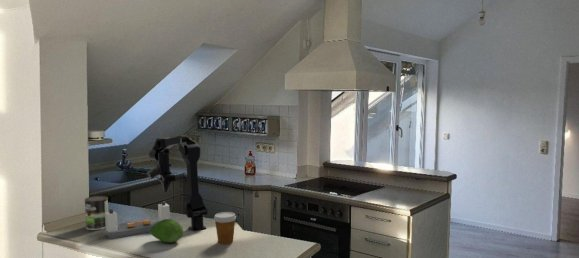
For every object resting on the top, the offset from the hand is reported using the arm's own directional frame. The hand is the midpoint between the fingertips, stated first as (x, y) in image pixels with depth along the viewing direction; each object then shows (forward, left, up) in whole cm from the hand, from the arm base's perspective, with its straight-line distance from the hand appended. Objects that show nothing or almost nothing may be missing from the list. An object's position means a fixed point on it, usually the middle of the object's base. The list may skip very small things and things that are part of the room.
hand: (165, 191), depth 237 cm
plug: (-16, +6, -10) cm, 20 cm away
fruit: (-38, +12, -13) cm, 42 cm away
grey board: (-16, +18, -13) cm, 27 cm away
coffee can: (+2, +33, -13) cm, 36 cm away
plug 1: (-16, +30, -10) cm, 36 cm away
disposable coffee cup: (-53, -9, -13) cm, 55 cm away
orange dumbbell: (-16, +18, -10) cm, 26 cm away
